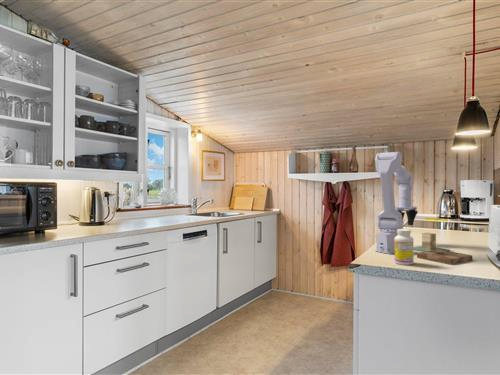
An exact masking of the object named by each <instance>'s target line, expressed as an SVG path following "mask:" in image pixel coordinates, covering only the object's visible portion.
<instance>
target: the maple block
mask: <svg viewBox="0 0 500 375" xmlns="http://www.w3.org/2000/svg"><path fill="white" fill-rule="evenodd" d="M436 234H437V233H435V232H423V233H421V246H422V249H427V250H433V249H436V247H437V235H436Z"/></svg>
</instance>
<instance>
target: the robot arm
mask: <svg viewBox="0 0 500 375" xmlns="http://www.w3.org/2000/svg"><path fill="white" fill-rule="evenodd" d="M375 155H376V156H375V158H374V163H375V169H376V170H375V171H376V172H377V173H378V174H379V177H380V185H381V194H382V195H381V196H382V206H383V210H381V211H380V212H379V213H378V215H377V223H376V224H377V228H378V230H380V232H379V233H378V234H377V236H376V249H375V250H374V251H375V252H378V253H382V254H388V255H391V254H395V237H396V236H398V233H397V229H404V217H405V214H406V218H407V225H408V226H413V225H414V222H415V219H416V216H417V215H418V213H419V212H418V210H417V209H418V206H413V204H412V203H413V202H412V200H413V195H412V193H413V190H412V189H413V187H414V175H413V174H411V173H409V171H408V170H407V168H406V167H405V166H404V165H402V163H403V157H402V156H403V155H402V153H401V152H400V151H391V152H389V151H388V152H378V153H376V154H375ZM393 174H394V176H395V178H396V183H397V185H398V206H396V202H395V201H396V200H395V191H394V180H393V179H394V178H393Z"/></svg>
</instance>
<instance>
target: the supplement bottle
mask: <svg viewBox="0 0 500 375" xmlns="http://www.w3.org/2000/svg"><path fill="white" fill-rule="evenodd" d="M411 231H412V230H411V229H408V228H403V229H397V233H398V236H396V237H395V253H394V263H395V264H397V265H402V266H411V265H413V264H414V260H415V258H414V253H415V252H414V251H415V250H413V247H414V238H413V237H412V235H411V233H412V232H411Z"/></svg>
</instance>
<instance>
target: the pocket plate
mask: <svg viewBox="0 0 500 375" xmlns="http://www.w3.org/2000/svg"><path fill="white" fill-rule="evenodd" d="M416 258H417V259H422V260H426V261H431V262H436V263H439V264H446V265H456V264H461V263H466V262H471V261H473V254H466V253H461V252H454V251H451V250H450V251H444V250H432V251H426V252H422V251H418V252H416Z"/></svg>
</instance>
